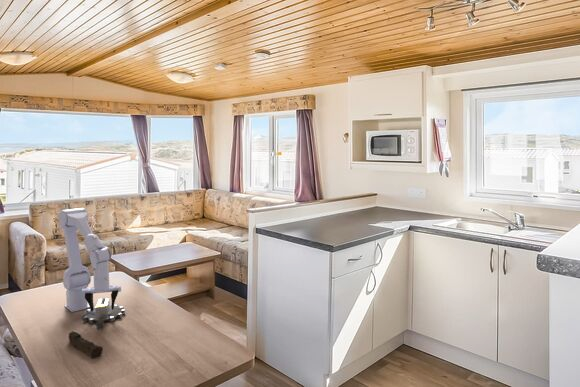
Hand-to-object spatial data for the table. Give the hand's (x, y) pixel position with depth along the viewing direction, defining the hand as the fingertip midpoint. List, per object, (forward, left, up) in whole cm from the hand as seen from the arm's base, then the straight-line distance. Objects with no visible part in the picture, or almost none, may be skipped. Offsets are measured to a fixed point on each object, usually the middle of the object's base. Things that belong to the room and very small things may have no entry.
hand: (102, 309), depth 168 cm
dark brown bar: (+20, -16, -5) cm, 26 cm away
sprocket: (-3, +2, -4) cm, 5 cm away
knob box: (0, 0, -2) cm, 2 cm away
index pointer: (+7, -4, -4) cm, 9 cm away
